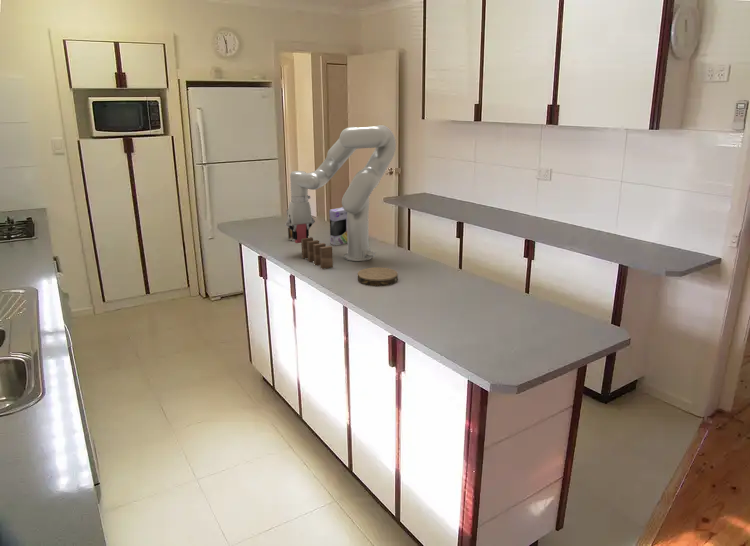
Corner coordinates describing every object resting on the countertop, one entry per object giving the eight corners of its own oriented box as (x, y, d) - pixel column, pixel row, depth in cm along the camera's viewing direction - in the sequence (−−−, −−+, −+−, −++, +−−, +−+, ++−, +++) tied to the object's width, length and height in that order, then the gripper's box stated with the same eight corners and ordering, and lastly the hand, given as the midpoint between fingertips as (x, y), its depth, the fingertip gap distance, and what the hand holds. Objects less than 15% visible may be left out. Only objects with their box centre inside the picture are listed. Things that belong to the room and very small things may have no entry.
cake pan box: (334, 246, 265) (333, 210, 260) (327, 244, 269) (326, 209, 264) (364, 239, 278) (363, 205, 272) (357, 238, 281) (357, 204, 276)
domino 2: (307, 261, 241) (307, 241, 238) (317, 259, 244) (317, 240, 241) (309, 262, 239) (309, 242, 237) (319, 260, 242) (319, 240, 239)
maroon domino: (294, 242, 249) (294, 223, 246) (304, 240, 252) (304, 222, 249) (296, 243, 247) (296, 224, 245) (306, 241, 250) (306, 222, 247)
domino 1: (302, 258, 246) (301, 238, 243) (311, 256, 248) (311, 237, 246) (303, 259, 244) (303, 239, 242) (313, 257, 247) (313, 238, 244)
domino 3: (314, 264, 236) (313, 244, 234) (324, 262, 239) (323, 242, 236) (316, 265, 235) (315, 245, 232) (326, 263, 237) (325, 243, 235)
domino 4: (320, 267, 231) (319, 247, 229) (330, 265, 234) (330, 245, 231) (322, 269, 230) (321, 248, 227) (332, 267, 232) (332, 246, 230)
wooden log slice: (351, 284, 212) (351, 277, 211) (366, 272, 226) (366, 265, 225) (390, 288, 207) (390, 281, 206) (402, 276, 221) (402, 269, 220)
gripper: (312, 196, 251) (313, 234, 256) (278, 199, 242) (280, 239, 247) (320, 198, 245) (320, 237, 250) (285, 202, 236) (286, 242, 241)
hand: (300, 238), depth 249 cm, fingers closed on maroon domino, 4 cm apart
